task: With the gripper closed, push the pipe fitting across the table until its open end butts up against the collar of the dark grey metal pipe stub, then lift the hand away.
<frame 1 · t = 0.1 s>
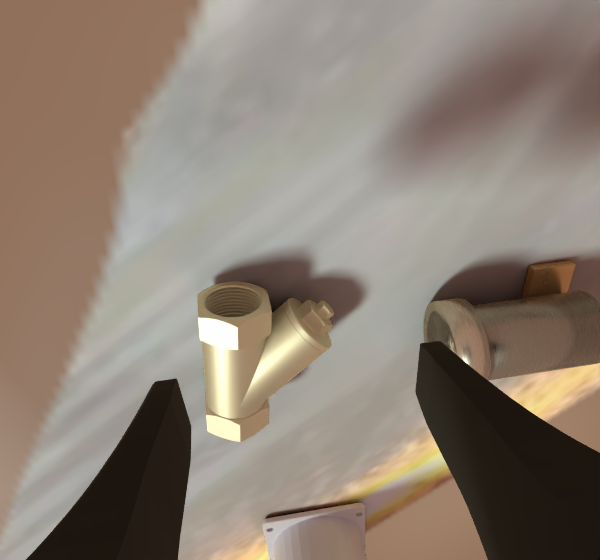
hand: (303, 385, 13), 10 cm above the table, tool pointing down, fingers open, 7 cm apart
pipe stub: (490, 310, 26), on the table
pipe fitting: (264, 335, 25), on the table
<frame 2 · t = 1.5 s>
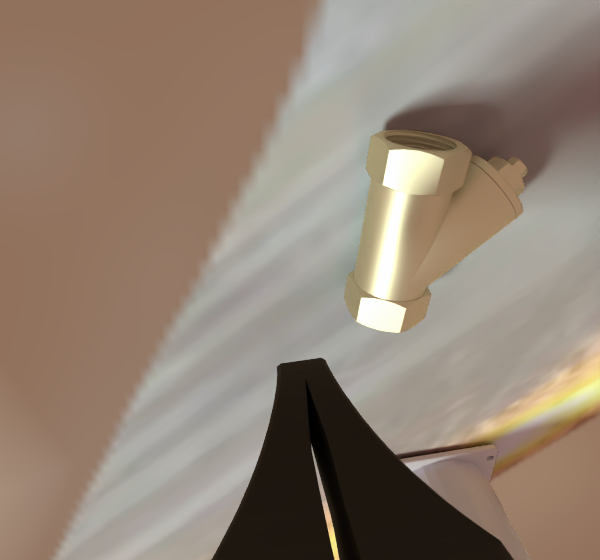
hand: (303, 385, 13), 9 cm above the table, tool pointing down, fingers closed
pipe fitting: (418, 215, 21), on the table
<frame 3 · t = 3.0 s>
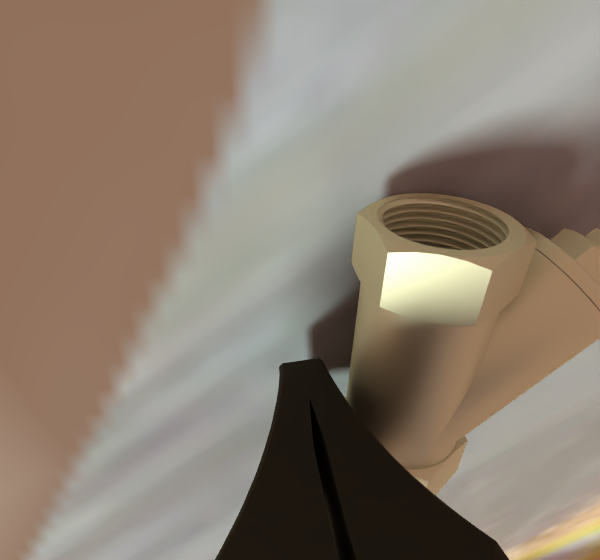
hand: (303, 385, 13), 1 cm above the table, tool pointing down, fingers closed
pipe fitting: (439, 308, 14), on the table, touching gripper
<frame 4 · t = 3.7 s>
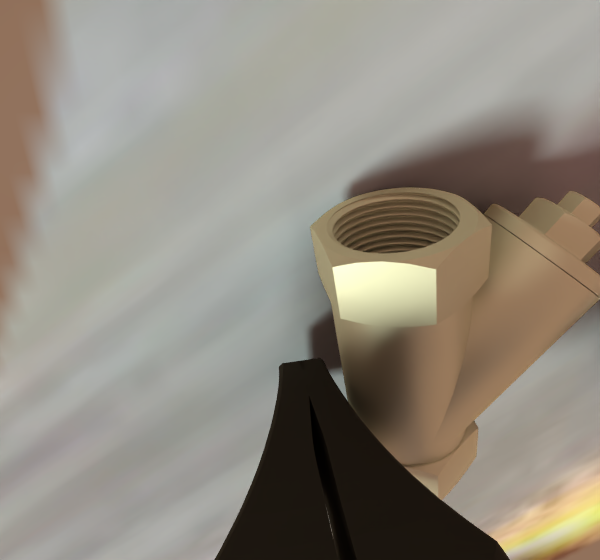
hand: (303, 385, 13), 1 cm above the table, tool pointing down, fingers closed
pipe fitting: (432, 296, 14), on the table, touching gripper
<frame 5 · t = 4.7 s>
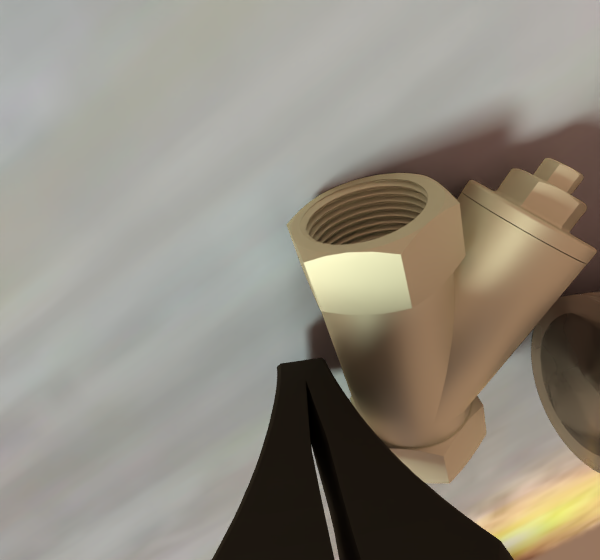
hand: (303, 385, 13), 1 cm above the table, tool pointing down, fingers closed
pipe fitting: (426, 278, 14), on the table
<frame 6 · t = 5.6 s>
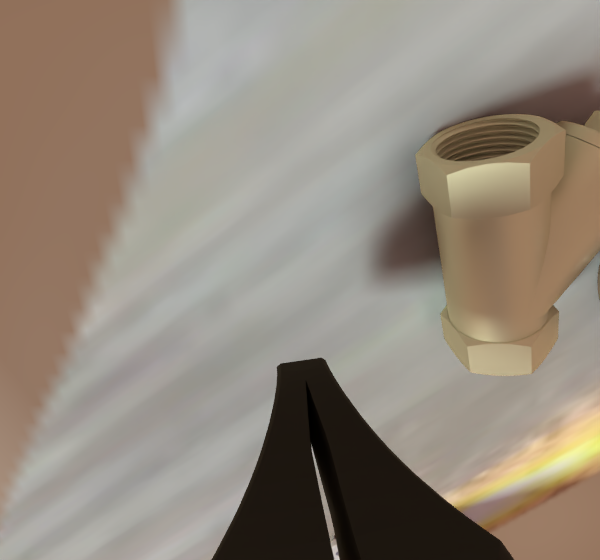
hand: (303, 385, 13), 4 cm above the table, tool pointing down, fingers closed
pipe fitting: (507, 212, 16), on the table
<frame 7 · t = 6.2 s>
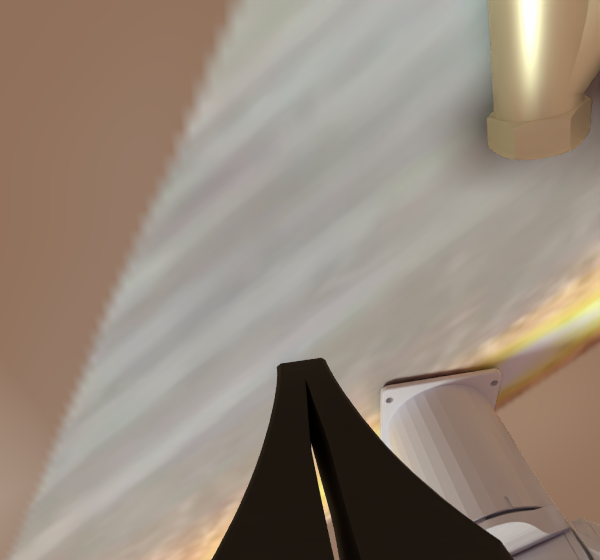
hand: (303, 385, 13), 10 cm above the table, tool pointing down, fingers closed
pipe fitting: (545, 26, 19), on the table
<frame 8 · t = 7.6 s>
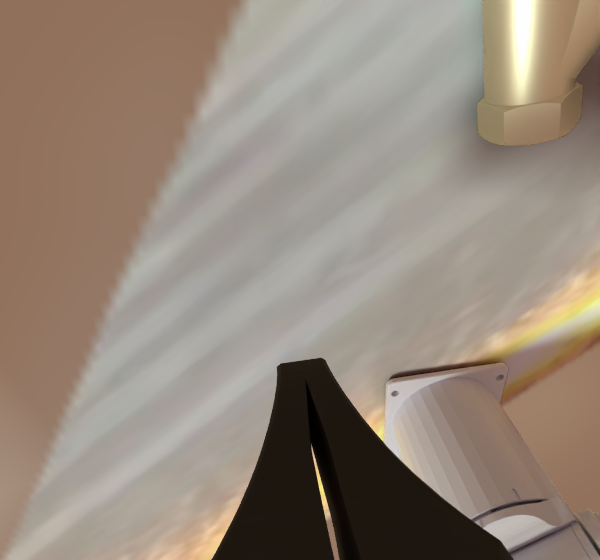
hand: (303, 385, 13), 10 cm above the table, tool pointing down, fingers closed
pipe fitting: (538, 12, 19), on the table
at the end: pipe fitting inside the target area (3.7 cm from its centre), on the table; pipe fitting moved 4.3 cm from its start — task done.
